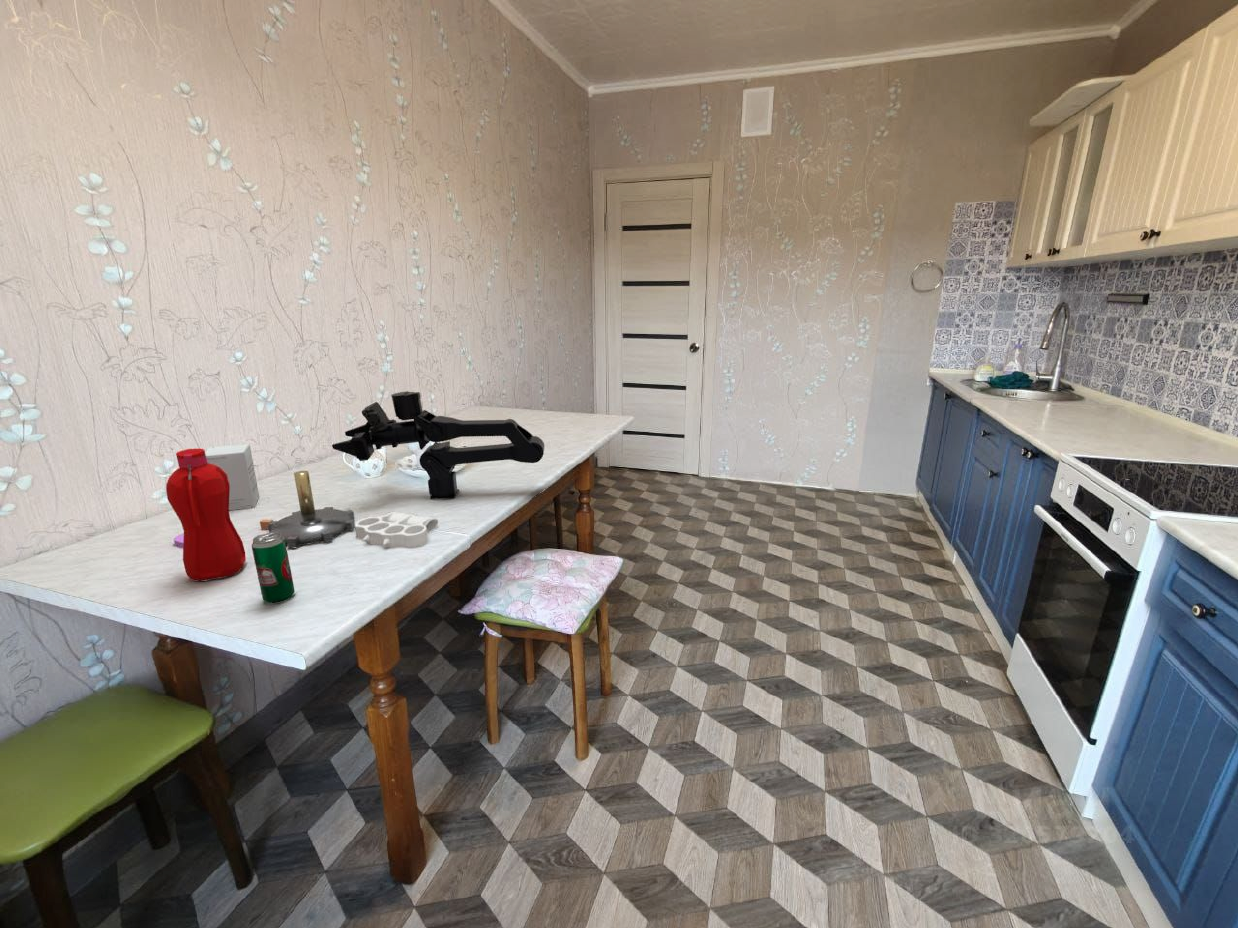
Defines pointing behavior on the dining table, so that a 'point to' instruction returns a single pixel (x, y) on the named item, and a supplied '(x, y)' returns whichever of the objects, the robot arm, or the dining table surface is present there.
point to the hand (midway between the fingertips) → (339, 440)
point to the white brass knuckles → (395, 530)
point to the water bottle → (204, 517)
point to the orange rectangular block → (265, 524)
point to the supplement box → (237, 473)
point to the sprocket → (311, 519)
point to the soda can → (273, 567)
